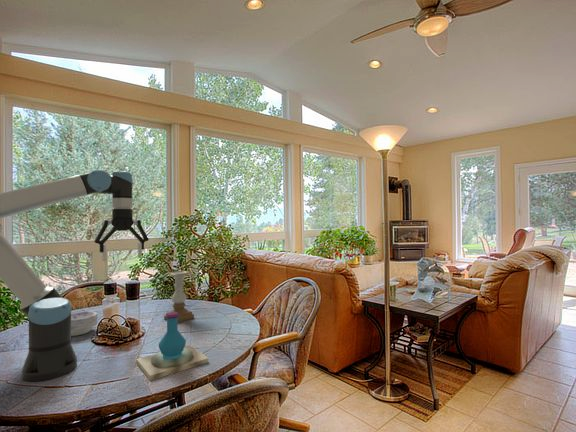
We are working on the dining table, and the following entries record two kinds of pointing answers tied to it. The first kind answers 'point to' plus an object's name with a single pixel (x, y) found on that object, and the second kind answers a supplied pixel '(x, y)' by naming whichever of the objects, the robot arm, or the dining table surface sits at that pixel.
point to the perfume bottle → (172, 339)
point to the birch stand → (170, 363)
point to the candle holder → (180, 297)
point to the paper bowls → (82, 322)
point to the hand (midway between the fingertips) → (122, 259)
